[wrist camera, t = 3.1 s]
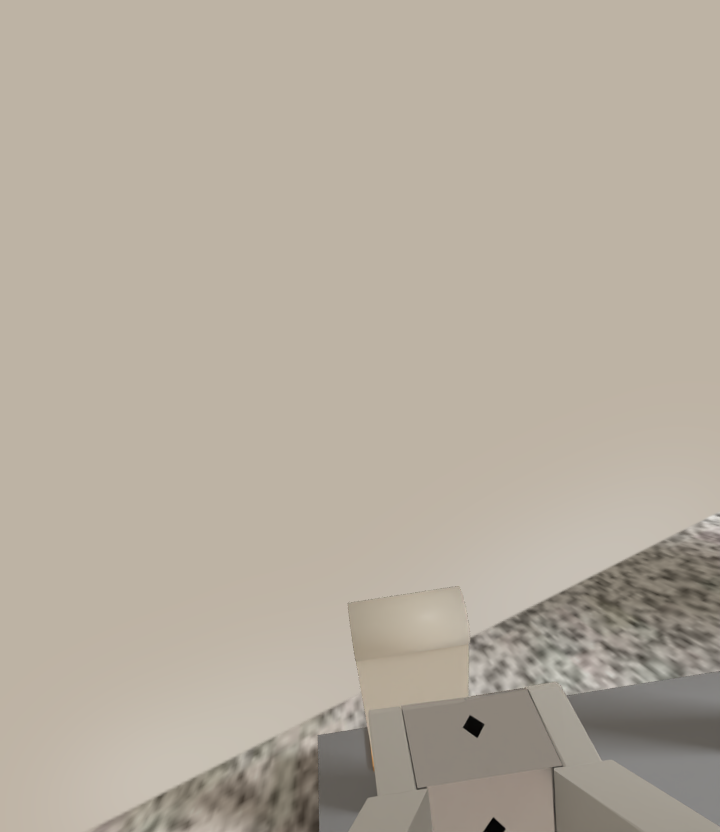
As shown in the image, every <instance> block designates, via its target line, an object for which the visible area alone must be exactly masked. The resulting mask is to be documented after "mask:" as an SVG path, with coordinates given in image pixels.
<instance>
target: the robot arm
mask: <svg viewBox="0 0 720 832" xmlns="http://www.w3.org/2000/svg"><path fill="white" fill-rule="evenodd" d="M368 718H369V727H370V735H371V744H372V752H373V761H374V770H375V778H376V787H377V795H378V796H376V797H370V798H367V800H366V802H365V804H364V805H363V807H362V809H361V811H360V812H359V814H358V816H357V817H356V819H355V821H354V823H353V824H352V826H351V828H350V829H349V831H348V832H720V827H719V826H718V825H716V824H715V823H713V822H711V821H710V820H708V819H707V818H705V817H703V816H702V815H700V814H699V813H697V812H695V811H694V810H692V809H691V808H689V807H687V806H686V805H684V804H683V803H681V802H679V801H678V800H676V799H674V798H673V797H671V796H670V795H668V794H666V793H665V792H663V791H662V790H660V789H658V788H657V787H655V786H654V785H652V784H650V783H649V782H647V781H646V780H644V779H642V778H641V777H639V776H638V775H636V774H634V773H633V772H631V771H629V770H628V769H626V768H625V767H623V766H621V765H620V764H618V763H617V762H615V761H613V760H605V761H602V760H601V758H600V756H599V754H598V753H597V751H596V749H595V747H594V745H593V743H592V742H591V740H590V738H589V736H588V734H587V733H586V731H585V729H584V727H583V725H582V723H581V722H580V720H579V718H578V716H577V714H576V713H575V711H574V709H573V707H572V705H571V703H570V702H569V700H568V698H567V696H566V694H565V693H564V691H563V689H562V687H561V685H559V684H558V683H557V682H551V683H545V684H539V685H534V686H528V687H525V688H520V689H514V690H508V691H501V692H495V693H489V694H483V695H476V696H470V697H464V698H456V699H448V700H440V701H432V702H424V703H416V704H409V705H401V708H400V707H399V706H398V707H390V708H382V709H374V710H369V716H368Z"/></svg>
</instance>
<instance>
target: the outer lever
mask: <svg viewBox="0 0 720 832" xmlns="http://www.w3.org/2000/svg"><path fill="white" fill-rule="evenodd" d="M348 610H349V619H350V627H351V634H352V641H353V648H354V654H355V660H356V665H357V670H358V676H359V681H360V687H361V693H362V699H363V704H364V710H365V716H366V722H367V727H368V733H369V739H370V744H371V735H370V727H369V718H368V716H369V710H374V709H382V708H390V707H398V706H399V707H400V708H401V705H409V704H416V703H424V702H432V701H440V700H448V699H456V698H464V697H468V677H469V644H470V630H469V622H468V616H467V611H466V606H465V602H464V598H463V595H462V592H461V589H460V587H459V586H455V587H449V588H443V589H436V590H429V591H423V592H416V593H410V594H403V595H397V596H390V597H384V598H377V599H371V600H364V601H358V602H351V603H348ZM371 750H372V744H371ZM372 756H373V752H372Z"/></svg>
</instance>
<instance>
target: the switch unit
mask: <svg viewBox="0 0 720 832" xmlns="http://www.w3.org/2000/svg"><path fill="white" fill-rule="evenodd" d="M567 698H568V700H569V702H570V703H571V705H572V707H573V709H574V711H575V713H576V714H577V716H578V718H579V720H580V722H581V723H582V725H583V727H584V729H585V731H586V733H587V734H588V736H589V738H590V740H591V742H592V743H593V745H594V747H595V749H596V751H597V753H598V754H599V756H600V758H601V760H602V761H605V760H613V761H615V762H617V763H618V764H620V765H621V766H623V767H625V768H626V769H628V770H629V771H631V772H633V773H634V774H636V775H638V776H639V777H641V778H642V779H644V780H646V781H647V782H649V783H650V784H652V785H654V786H655V787H657V788H658V789H660V790H662V791H663V792H665V793H666V794H668V795H670V796H671V797H673V798H674V799H676V800H678V801H679V802H681V803H683V804H684V805H686V806H687V807H689V808H691V809H692V810H694V811H695V812H697V813H699V814H700V815H702V816H703V817H705V818H707V819H708V820H710V821H711V822H713V823H715V824H716V825H718V826H719V827H720V671H718V672H711V673H705V674H699V675H693V676H686V677H680V678H674V679H668V680H661V681H655V682H649V683H643V684H636V685H630V686H624V687H617V688H611V689H605V690H599V691H592V692H586V693H580V694H574V695H567ZM318 780H319V832H348V831H349V829H350V828H351V826H352V824H353V823H354V821H355V819H356V817H357V816H358V814H359V812H360V811H361V809H362V807H363V805H364V804H365V802H366V800H367V798H370V797H376V796H378V795H377V787H376V778H375V770H374V761H373V756H372V750H371V744H370V739H369V733H368V727H367V728H360V729H354V730H348V731H341V732H335V733H329V734H323V735H318Z"/></svg>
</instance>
